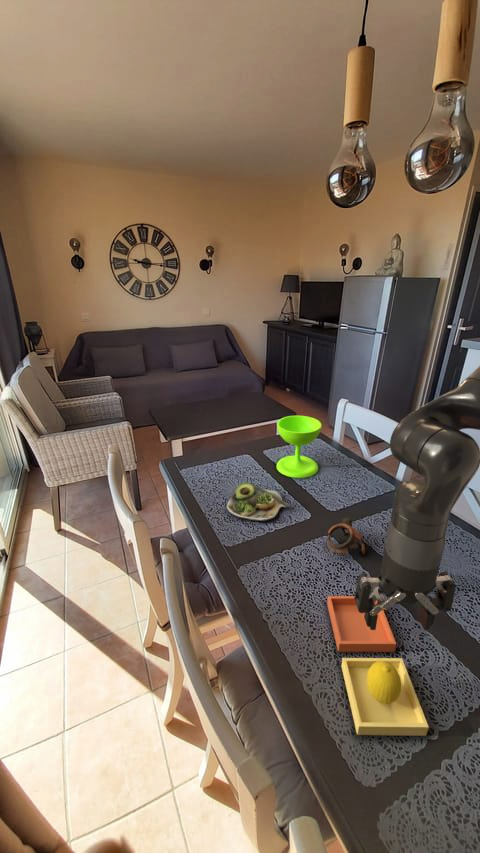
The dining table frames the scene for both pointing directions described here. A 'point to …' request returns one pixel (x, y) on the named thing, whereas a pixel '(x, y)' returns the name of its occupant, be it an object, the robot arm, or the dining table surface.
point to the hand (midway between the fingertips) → (397, 624)
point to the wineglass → (298, 445)
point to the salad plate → (254, 503)
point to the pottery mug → (349, 532)
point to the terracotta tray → (358, 628)
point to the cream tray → (378, 716)
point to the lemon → (384, 682)
